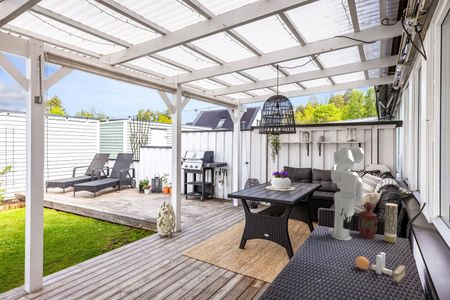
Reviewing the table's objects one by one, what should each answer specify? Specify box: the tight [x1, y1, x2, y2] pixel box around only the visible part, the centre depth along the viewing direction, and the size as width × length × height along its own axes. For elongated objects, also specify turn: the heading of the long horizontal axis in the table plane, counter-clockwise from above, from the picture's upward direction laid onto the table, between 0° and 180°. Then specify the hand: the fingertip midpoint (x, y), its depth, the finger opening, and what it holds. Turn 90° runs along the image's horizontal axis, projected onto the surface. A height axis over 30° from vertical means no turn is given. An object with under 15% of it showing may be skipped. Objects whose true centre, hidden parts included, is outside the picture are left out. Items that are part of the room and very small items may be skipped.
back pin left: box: [379, 251, 386, 269], centre depth 130 cm, size 2×2×8 cm
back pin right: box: [375, 254, 383, 275], centre depth 126 cm, size 2×2×8 cm
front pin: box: [371, 263, 393, 277], centre depth 128 cm, size 2×2×8 cm
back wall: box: [392, 264, 406, 284], centre depth 122 cm, size 2×12×4 cm, turn 133°
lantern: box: [357, 193, 378, 240], centre depth 183 cm, size 12×12×30 cm
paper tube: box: [383, 202, 399, 244], centre depth 174 cm, size 7×7×25 cm
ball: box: [355, 255, 370, 270], centre depth 131 cm, size 6×6×6 cm
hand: (346, 228), depth 140 cm, fingers closed
